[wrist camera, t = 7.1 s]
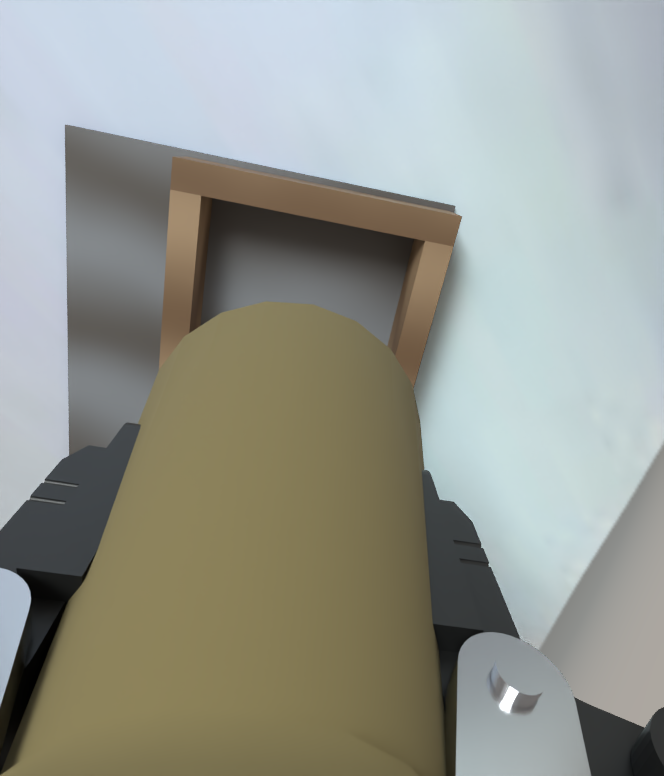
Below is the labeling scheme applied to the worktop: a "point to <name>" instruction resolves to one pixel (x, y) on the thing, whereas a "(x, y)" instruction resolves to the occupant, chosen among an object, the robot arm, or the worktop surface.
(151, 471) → the olive rounded bulb piece
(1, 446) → the worktop surface
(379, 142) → the worktop surface
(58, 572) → the robot arm
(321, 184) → the grey metal base plate
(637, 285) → the worktop surface
